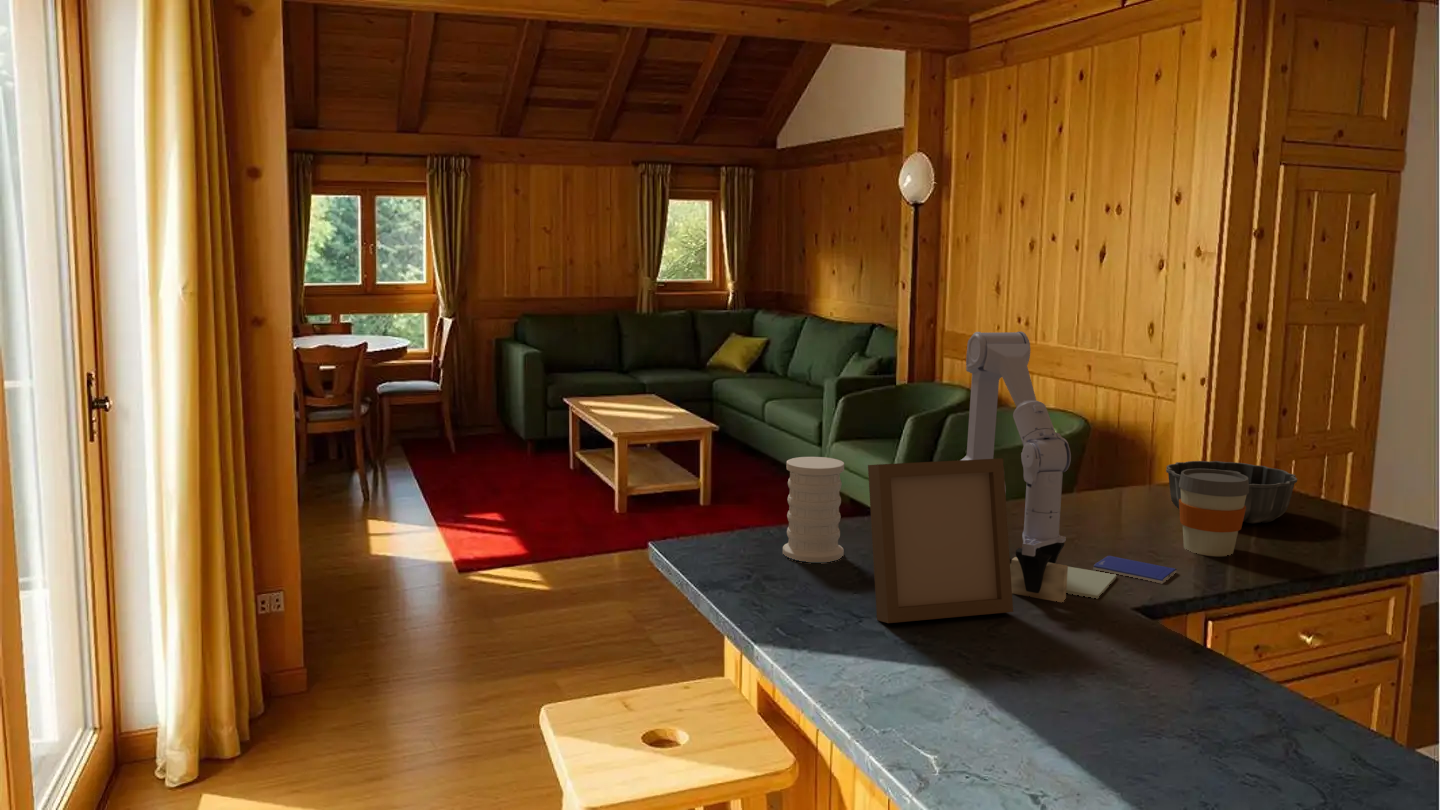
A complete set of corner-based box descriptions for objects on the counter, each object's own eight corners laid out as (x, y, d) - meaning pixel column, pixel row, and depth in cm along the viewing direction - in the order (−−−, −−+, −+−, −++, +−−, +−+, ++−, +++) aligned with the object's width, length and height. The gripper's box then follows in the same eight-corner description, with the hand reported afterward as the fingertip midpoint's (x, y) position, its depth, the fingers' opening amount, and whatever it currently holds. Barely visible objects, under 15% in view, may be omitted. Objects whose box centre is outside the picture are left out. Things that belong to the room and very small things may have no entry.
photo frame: (1012, 617, 176) (1021, 465, 172) (887, 629, 171) (893, 471, 167) (968, 588, 190) (975, 447, 187) (851, 598, 185) (856, 452, 181)
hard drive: (1093, 564, 202) (1162, 578, 194) (1109, 554, 208) (1176, 567, 201) (1092, 572, 202) (1162, 586, 195) (1108, 562, 208) (1176, 576, 201)
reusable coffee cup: (1229, 542, 222) (1236, 469, 219) (1253, 560, 209) (1260, 483, 207) (1165, 539, 223) (1171, 467, 220) (1185, 557, 210) (1191, 481, 208)
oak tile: (1009, 593, 189) (1011, 559, 188) (1013, 590, 190) (1015, 556, 189) (1062, 603, 184) (1064, 568, 183) (1065, 599, 186) (1067, 565, 185)
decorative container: (822, 567, 202) (825, 471, 199) (770, 555, 209) (772, 463, 206) (854, 553, 211) (857, 461, 208) (803, 542, 218) (806, 453, 215)
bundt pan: (1139, 503, 254) (1142, 460, 252) (1241, 499, 258) (1245, 457, 257) (1209, 533, 228) (1213, 486, 227) (1321, 529, 233) (1325, 482, 231)
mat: (993, 580, 195) (993, 577, 195) (1017, 561, 207) (1017, 558, 207) (1097, 599, 186) (1097, 595, 186) (1116, 577, 197) (1116, 574, 197)
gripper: (1054, 521, 177) (1049, 602, 179) (1077, 503, 189) (1073, 579, 191) (1011, 515, 180) (1007, 594, 182) (1037, 498, 192) (1032, 572, 195)
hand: (1038, 586), depth 187 cm, fingers open, 6 cm apart
